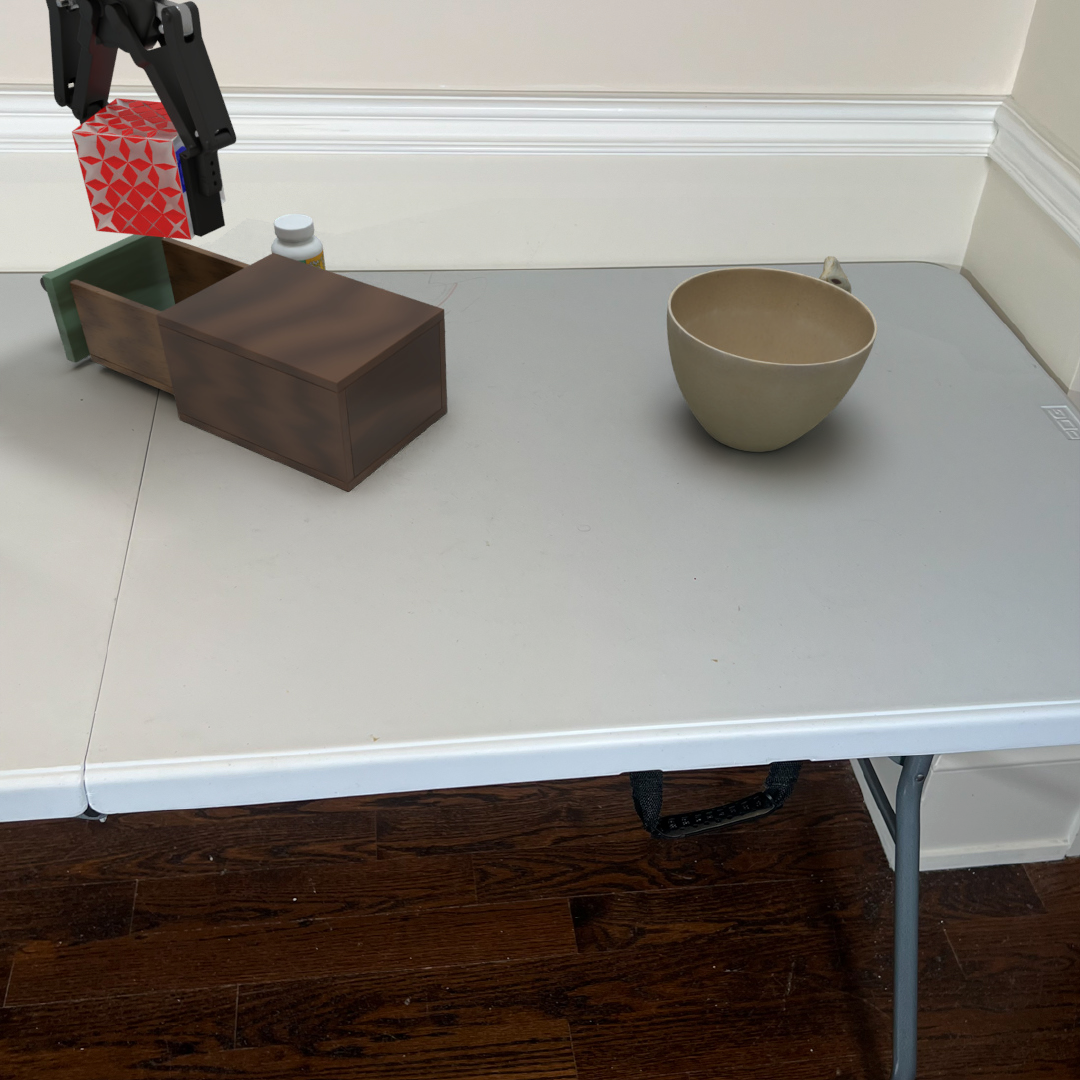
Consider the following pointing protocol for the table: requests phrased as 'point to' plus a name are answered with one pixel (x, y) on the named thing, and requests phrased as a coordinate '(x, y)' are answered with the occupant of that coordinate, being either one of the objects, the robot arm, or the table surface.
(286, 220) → the supplement bottle
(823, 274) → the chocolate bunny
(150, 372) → the drawer
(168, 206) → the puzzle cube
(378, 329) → the cabinet
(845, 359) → the beige bowl
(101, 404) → the table surface
